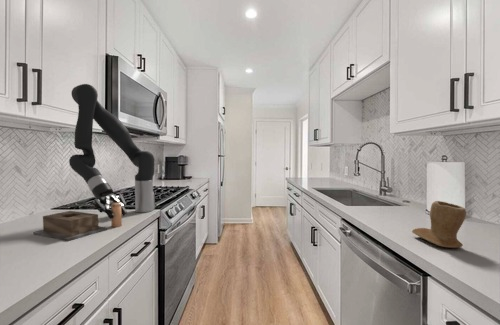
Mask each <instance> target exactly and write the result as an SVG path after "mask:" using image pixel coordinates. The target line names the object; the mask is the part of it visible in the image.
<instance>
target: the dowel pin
mask: <svg viewBox="0 0 500 325" xmlns="http://www.w3.org/2000/svg"><path fill="white" fill-rule="evenodd" d="M110 209H111V211H112V212H113V214H114V215H115V216H114V218H113V219H111V221H110V222H111V227H112V228H120V227H121V226H122V222H123V219H122V213H121V203H117V202H116V203H112V204H111V205H110Z"/></svg>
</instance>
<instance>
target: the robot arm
mask: <svg viewBox="0 0 500 325" xmlns="http://www.w3.org/2000/svg"><path fill="white" fill-rule="evenodd" d="M71 97H72V99H73V101H74V102H75V103H76V104H77V107H78V114H77V121H76V125H75V128H74V129H75V130H74V143H73V145H74V148H75V149H77V150H80V151H82V154H77V153H76V154H72V155H71V156H70V157H69V159H68V164H69V166H70V168H71V169H72V170H73V172H75V173H76V174H78V175H79V176H80V177H81V178H83V180H84V181H85V183H86V184H87V186H88V188H89V190H90V191H91V193H92V194H93V197H95V199H94V200H93V202H92V203H91V204H92V205H93V206H94V207H95V208H96V209H97V210H98V212H99V213H101V214H102V213H105V214H106V215H107V217H108V218H109V219H113V218H114V216H115V215H114V214H113V212H112V211H111V204H112V203H121V216H123V217H124V216H126V214H127V213H128V211H127V209H126V207H125V206H126V205H127V202H126V201H125V198H124V196H123V195H122V194H119V195H116V193H114V189H113V188H112V187H111V185H110V184H109V182H108V181H107V179H106V178H105V177H104V176H103V174H102V173H101V172H100V170H99V169H98V168H96V167H95V165H96V156H95V153H94V149H93V127H94V125H93V124H94V121H95V123H96V124H97V125H98V126H99V127H100V129H102V131H103V132H104V133H105V134H106V135H107V136H108V138H110V139H111V141H113V142H114V143H115V144H116V145H117V146H118V148H120V149H121V150H122V151H123V153H124V154H125V155H126V156H127V157H128V159H129V161H130V162H131V163H132V164H133V166H135V167H137V168H138V169H137V170H138V171H137V173H136V174H135V175H134V191H135V193H134V194H135V196H134V198H135V205H134V206H135V207H134V208H135V213H149V212H152V211H154V210H155V209H156V207H155V192H154V184H153V181H154V180H153V178H154V175H155V156H154V154H153V152H150V151H146V150H143V151H142V150H141V149H140V148H139V147H138V146H137V145H136V144H135V143H134V141H133V138H132V136H131V133H130V131H129V130H128V128H127V127H126V126H125V125H124V124H123V123H122V121H121V120H120V119H119V118H118V117H117V116H115V115H114V114H113V113H111V112H110V111H108V110H107V109H106V108H105V106H103V105H102V104H101V103H100V102H99V100H98V97H99V96H98V91H97V89H96V88H95V87H94V86H93V85H91V84H89V83H82V84H79V85H76V86H74V87H73V88H72V90H71Z"/></svg>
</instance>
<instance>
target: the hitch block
mask: <svg viewBox="0 0 500 325" xmlns="http://www.w3.org/2000/svg"><path fill="white" fill-rule="evenodd" d="M107 230H108V227H104V226H99V214H97V213H89V212H82V211H75V210H68V211H67V210H66V211H63V212H58V213H53V214H47V215H43V216H42V229H41V230H36V231H33V235H38V236H41V237H46V238H51V239H57V240H61V241H65V242H70V241H71V242H72V241H74V240H77V239H80V238H83V237H84V238H85V237H87V236H91V235H93V234H96V233H97V234H98V233H101V232H104V231H107Z"/></svg>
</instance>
